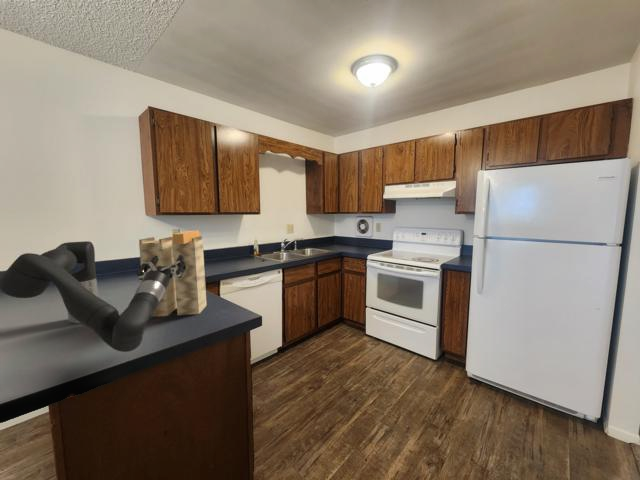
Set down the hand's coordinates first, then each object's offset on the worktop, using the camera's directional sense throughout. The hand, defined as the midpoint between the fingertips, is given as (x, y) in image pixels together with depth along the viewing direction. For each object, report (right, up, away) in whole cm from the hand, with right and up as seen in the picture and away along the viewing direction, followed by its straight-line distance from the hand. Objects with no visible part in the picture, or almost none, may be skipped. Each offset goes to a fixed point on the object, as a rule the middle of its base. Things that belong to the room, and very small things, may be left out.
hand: (169, 257), depth 98 cm
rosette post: (-15, -26, +21) cm, 37 cm away
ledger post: (-2, -26, +22) cm, 34 cm away
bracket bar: (-2, +6, +17) cm, 18 cm away
